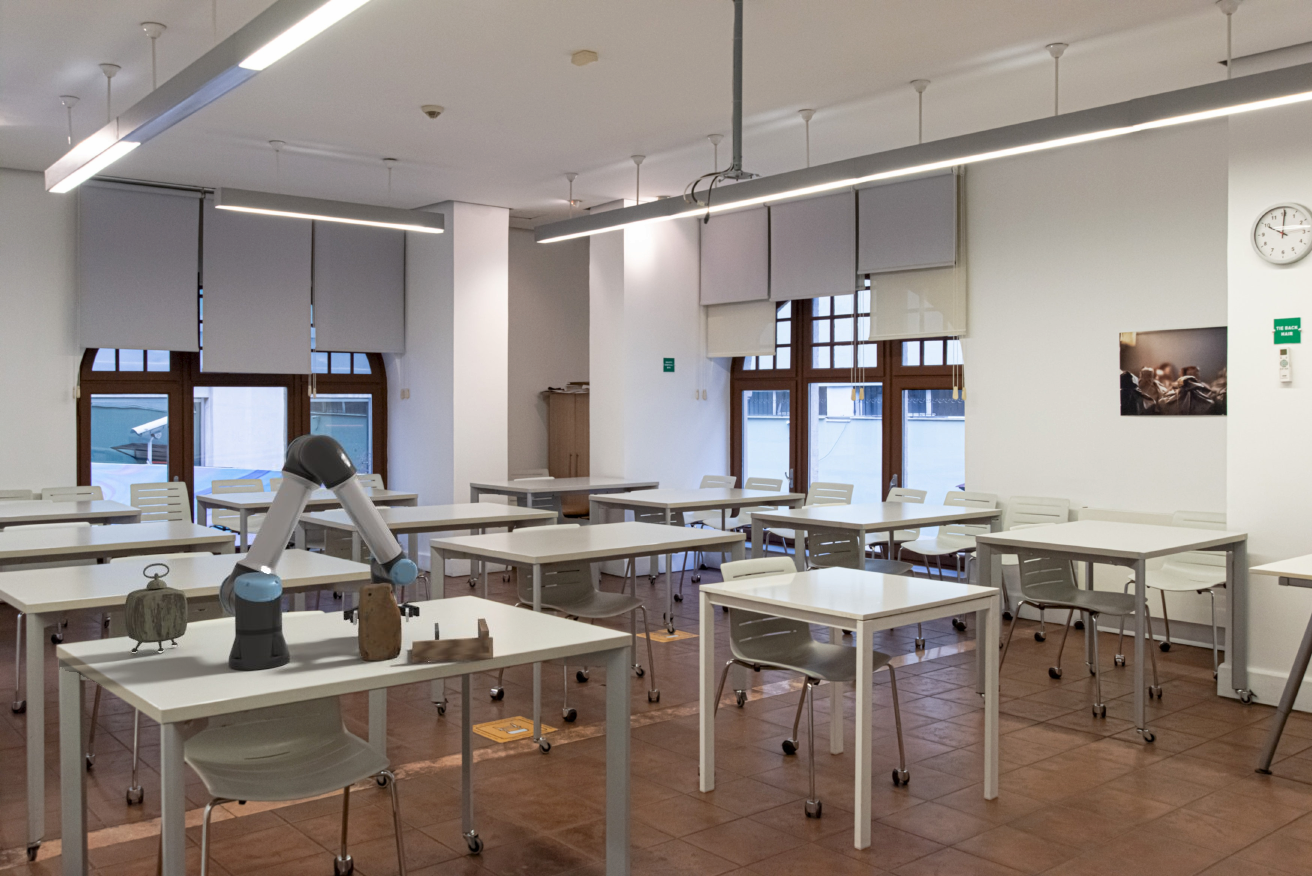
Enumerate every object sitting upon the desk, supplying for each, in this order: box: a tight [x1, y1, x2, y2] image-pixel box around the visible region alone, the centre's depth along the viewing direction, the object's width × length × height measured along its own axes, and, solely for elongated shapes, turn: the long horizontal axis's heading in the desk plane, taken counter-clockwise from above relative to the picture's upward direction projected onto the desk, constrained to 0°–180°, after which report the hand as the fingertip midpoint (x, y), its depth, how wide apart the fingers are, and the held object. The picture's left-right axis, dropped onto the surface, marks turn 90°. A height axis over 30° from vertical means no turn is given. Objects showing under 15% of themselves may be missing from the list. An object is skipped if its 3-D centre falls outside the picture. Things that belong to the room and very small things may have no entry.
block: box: [357, 583, 403, 662], centre depth 277 cm, size 11×8×20 cm
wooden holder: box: [411, 618, 494, 664], centre depth 281 cm, size 21×18×8 cm
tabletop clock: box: [123, 562, 189, 653], centre depth 287 cm, size 14×9×25 cm, turn 134°
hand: (381, 618), depth 275 cm, fingers open, 13 cm apart
